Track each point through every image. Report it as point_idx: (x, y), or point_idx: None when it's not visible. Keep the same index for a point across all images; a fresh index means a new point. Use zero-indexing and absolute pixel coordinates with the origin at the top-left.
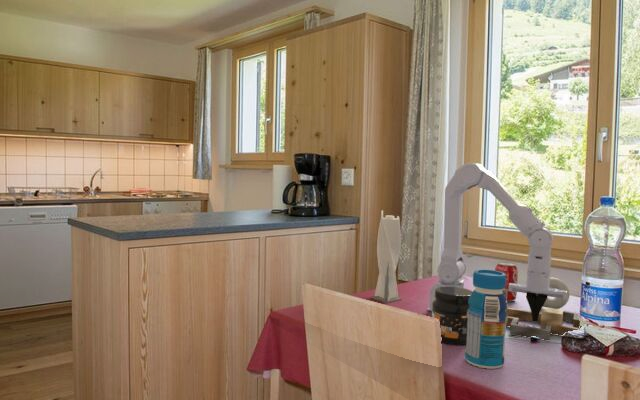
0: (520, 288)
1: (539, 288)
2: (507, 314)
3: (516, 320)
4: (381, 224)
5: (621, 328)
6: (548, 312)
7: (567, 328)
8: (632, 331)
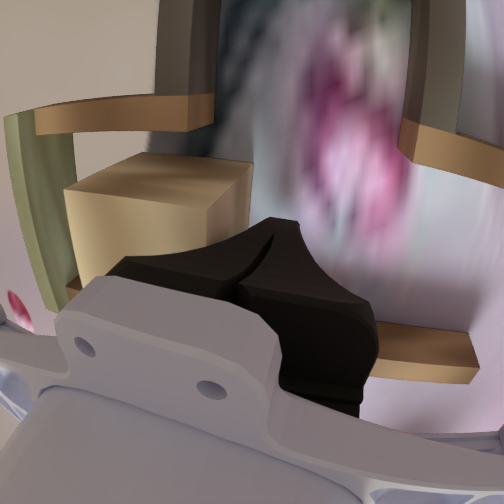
0: (469, 460)
1: (80, 425)
2: (429, 338)
3: (434, 78)
4: None
5: (28, 316)
6: (148, 201)
7: (79, 102)
8: (9, 298)
